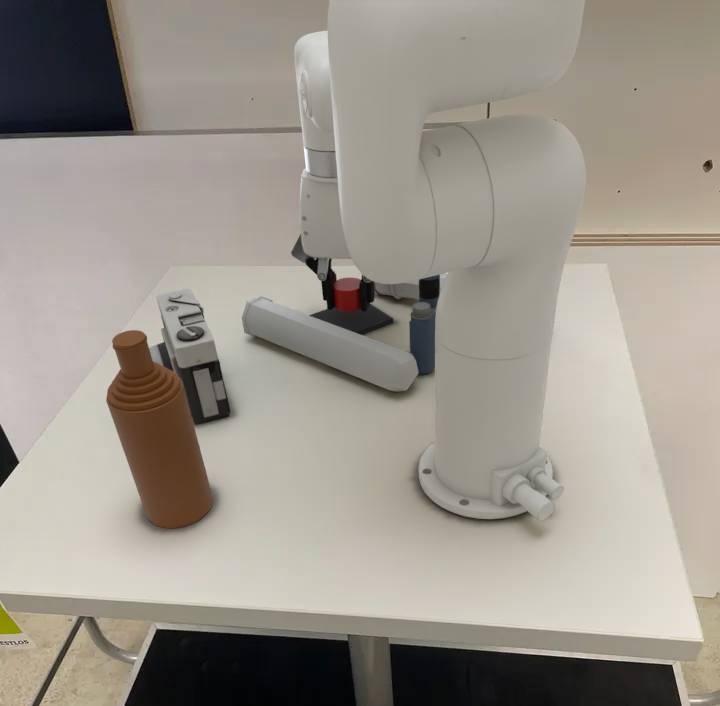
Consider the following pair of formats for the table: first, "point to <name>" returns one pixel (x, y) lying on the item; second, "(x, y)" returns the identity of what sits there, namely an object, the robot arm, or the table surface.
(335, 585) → the table surface
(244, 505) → the table surface
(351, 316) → the mat
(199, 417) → the camera
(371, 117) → the robot arm
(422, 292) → the vaping device
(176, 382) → the bottle
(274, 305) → the tube
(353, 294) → the cap
